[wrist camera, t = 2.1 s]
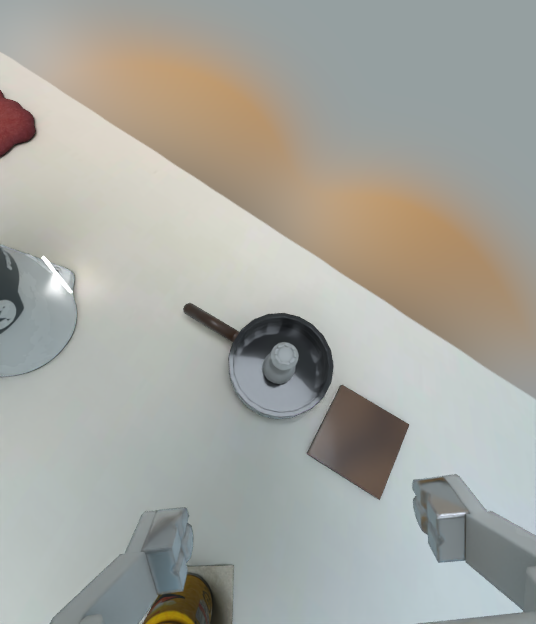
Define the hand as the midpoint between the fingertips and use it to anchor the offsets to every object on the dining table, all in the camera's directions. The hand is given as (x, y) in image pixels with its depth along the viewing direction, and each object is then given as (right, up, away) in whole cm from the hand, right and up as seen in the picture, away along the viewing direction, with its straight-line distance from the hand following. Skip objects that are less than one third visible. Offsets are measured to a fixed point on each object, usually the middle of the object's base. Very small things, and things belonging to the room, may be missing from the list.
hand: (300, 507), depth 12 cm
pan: (0, -1, +33) cm, 33 cm away
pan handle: (-9, +5, +33) cm, 34 cm away
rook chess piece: (0, -1, +33) cm, 33 cm away
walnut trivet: (+11, -10, +31) cm, 34 cm away
